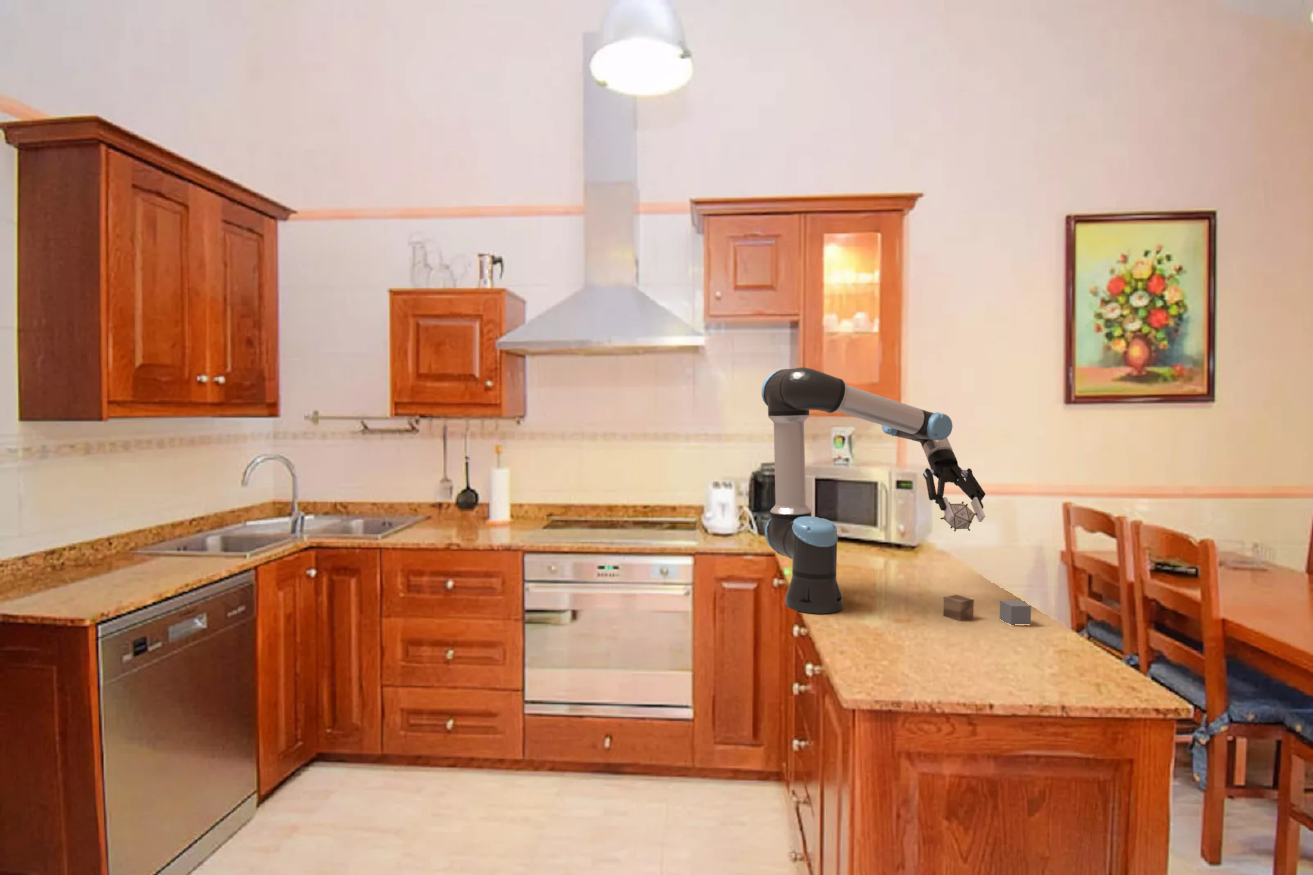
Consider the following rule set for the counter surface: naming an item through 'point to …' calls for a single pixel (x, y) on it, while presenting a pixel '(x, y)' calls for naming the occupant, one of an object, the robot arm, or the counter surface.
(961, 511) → the game die
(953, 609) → the walnut block
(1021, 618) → the gray block
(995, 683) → the counter surface
